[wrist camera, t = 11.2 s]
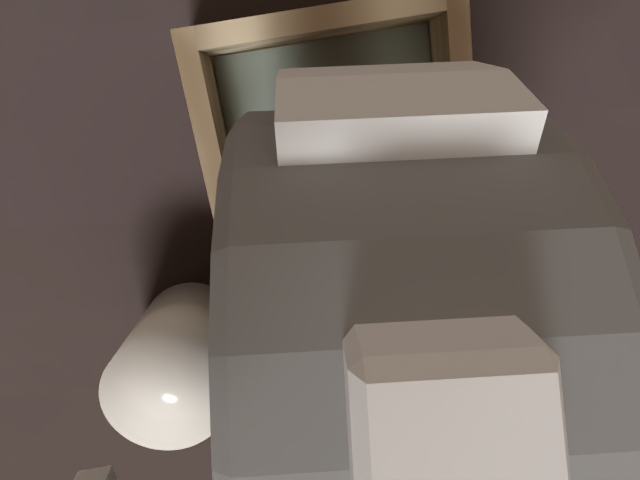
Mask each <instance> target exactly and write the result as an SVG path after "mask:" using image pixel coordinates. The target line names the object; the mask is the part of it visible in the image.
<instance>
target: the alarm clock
mask: <svg viewBox="0 0 640 480" xmlns="http://www.w3.org/2000/svg"><path fill="white" fill-rule="evenodd" d="M547 113H548V110H547V109H546V107H545V106H544V105H543V104H542V103H541V102H540V101H539V100H538V99H537V98H536V97H535V96H534V95H533V94H532V93H531V92H530V91H529V89H528V88H527V87H526V86H525V85H524V84H523V83H522V82H521V81H520V80H519V79H518V78H517V77H516V76H515V75H514V74H513V73H512V72H511V70H510V69H507V68H503V67H499V66H494V65H490V64H486V63H481V62H477V61H456V62H431V63H406V64H382V65H357V66H332V67H307V68H283V69H279V70H278V73H277V76H276V88H275V110H273V111H250V112H247V113H245V114H244V115H243V116H242V117H241V118H240V119H238V120H237V121H236V122H235V123H234V125H233V127H232V128H231V130H230V132H229V133H228V135H227V137H226V140H225V145H224V150H223V155H222V159H221V164H220V169H219V174H218V179H217V189H216V200H215V211H214V222H213V233H212V244H211V259H210V302H209V345H208V366H209V398H210V431H211V463H212V479H213V480H640V258H639V254H638V251H637V248H636V245H635V241H634V238H633V235H632V232H631V229H630V227H629V225H628V224H627V222H626V220H625V218H624V216H623V214H622V213H621V211H620V209H619V207H618V205H617V203H616V202H615V200H614V198H613V196H612V194H611V193H610V191H609V189H608V187H607V185H606V183H605V182H604V180H603V178H602V176H601V174H600V172H599V171H598V169H597V167H596V165H595V163H594V161H593V160H592V158H591V157H590V156H589V155H588V154H587V153H586V152H585V151H584V150H583V149H582V148H581V147H580V146H579V145H578V144H577V143H576V142H575V141H574V140H573V139H572V138H571V137H570V136H569V135H568V134H567V133H566V132H565V131H564V130H563V129H562V128H561V127H560V126H559V124H558V123H557V122H556V121H555V120H554V119H552V118H550V117H548V116H547Z"/></svg>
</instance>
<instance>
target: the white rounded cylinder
mask: <svg viewBox="0 0 640 480" xmlns="http://www.w3.org/2000/svg"><path fill="white" fill-rule="evenodd" d="M209 302H210V285H207V284H203V283H191V282H190V283H182V284H177V285H174V286H172V287H169V288H167V289H166V290H164V291H163V292H161V293H160V294H159V295H158V296H157V297H156V298H155V299H154V300H153V301H152V303H151V304H150V306H149V307H148V308H147V310H146V311H145V313H144V314H143V315H142V317H141V318H140V320H139V321H138V323H137V324H136V325H135V327H134V328H133V330H132V331H131V332H130V334H129V335H128V337H127V338H126V340H125V341H124V342H123V344H122V345H121V347H120V348H119V349H118V351H117V352H116V354H115V355H114V357H113V358H112V359H111V361H110V362H109V364H108V365H107V367H106V368H105V370H104V372H103V374H102V377H101V379H100V384H99V401H100V405H101V408H102V410H103V413H104V415H105V417H106V418H107V420H108V421H109V423H110V424H111V425H112V426H113V428H114V429H115V430H116V431H118V432H119V433H120V434H121V435H122V436H124V437H125V438H127V439H128V440H130V441H132V442H134V443H136V444H138V445H141V446H144V447H147V448H152V449H157V450H178V449H183V448H188V447H191V446H194V445H196V444H198V443H200V442H202V441H204V440H205V439H207V438H208V437H209V436H211V431H210V398H209V366H208V345H209Z"/></svg>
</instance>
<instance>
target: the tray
mask: <svg viewBox="0 0 640 480" xmlns="http://www.w3.org/2000/svg"><path fill="white" fill-rule="evenodd" d="M170 32H171V36H172V41H173V45H174V49H175V54H176V58H177V62H178V67H179V71H180V76H181V80H182V84H183V89H184V93H185V97H186V102H187V106H188V110H189V115H190V119H191V124H192V128H193V132H194V137H195V141H196V145H197V150H198V154H199V159H200V163H201V167H202V172H203V176H204V180H205V185H206V189H207V194H208V198H209V202H210V207H211V211H212V215H213V220H214V211H215V200H216V189H217V179H218V174H219V169H220V164H221V159H222V155H223V150H224V145H225V140H226V137H227V135H228V133H229V132H230V130H231V128H232V127H233V125H234V123H235V122H236V121H237V120H238V119H240V118H241V117H242V116H243V115H244V114H245V113H247V112H250V111H273V110H275V88H276V76H277V73H278V70H279V69H283V68H307V67H332V66H357V65H382V64H406V63H431V62H456V61H473V58H472V39H471V20H470V2H469V0H349V1H343V2H337V3H331V4H325V5H319V6H312V7H306V8H300V9H294V10H288V11H281V12H275V13H269V14H263V15H257V16H251V17H244V18H238V19H232V20H226V21H220V22H213V23H207V24H201V25H195V26H189V27H183V28H176V29H170Z"/></svg>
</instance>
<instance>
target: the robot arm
mask: <svg viewBox="0 0 640 480" xmlns="http://www.w3.org/2000/svg"><path fill="white" fill-rule="evenodd" d="M73 480H117V477H116V475H115V472H114V469H113V466H112V465H111V466H105V467H99V468H93V469H87V470H82V471H78V472H77V474H76V476H75V478H74V479H73Z"/></svg>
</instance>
